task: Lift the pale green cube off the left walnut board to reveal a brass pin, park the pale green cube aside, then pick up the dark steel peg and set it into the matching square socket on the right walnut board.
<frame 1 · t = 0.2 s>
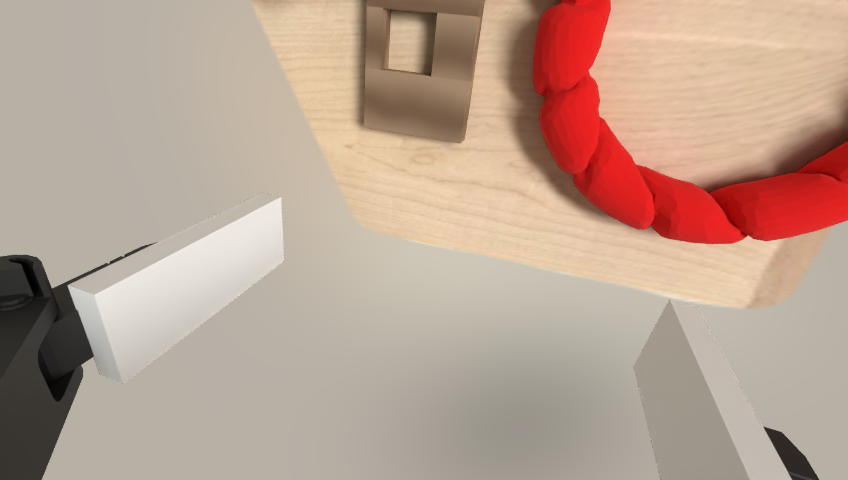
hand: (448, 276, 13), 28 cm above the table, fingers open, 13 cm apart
square hole block: (422, 67, 37), on the table
decorative ring: (736, 50, 30), on the table
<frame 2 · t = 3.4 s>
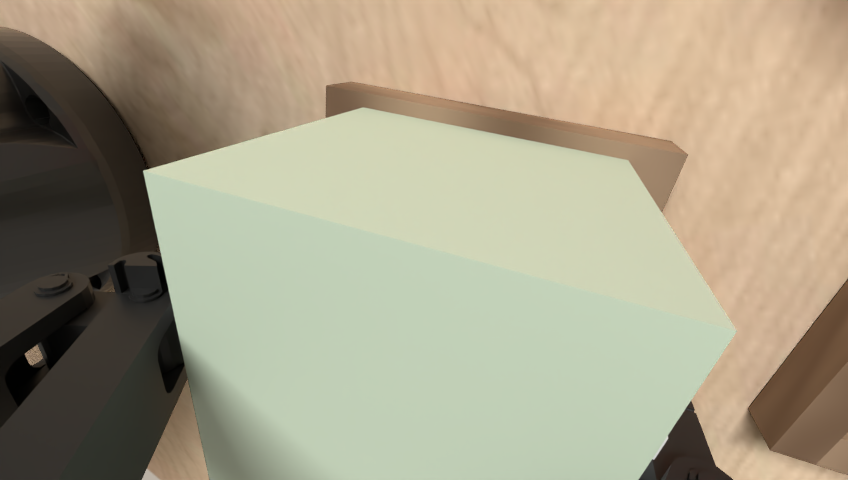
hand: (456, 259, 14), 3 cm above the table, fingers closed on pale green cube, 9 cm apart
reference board: (472, 228, 17), on the table
pale green cube: (462, 248, 15), point 2 cm above the table, touching gripper, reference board
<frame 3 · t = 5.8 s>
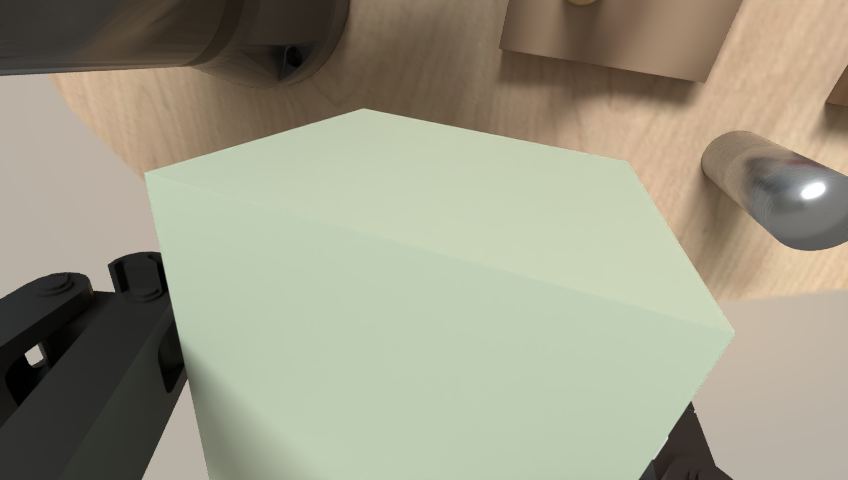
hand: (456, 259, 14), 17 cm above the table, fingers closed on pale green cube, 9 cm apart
peg: (732, 157, 25), on the table
pale green cube: (462, 249, 15), point 16 cm above the table, touching gripper
when the fingers open (2 cm above the table, at t = 8.0 s): pale green cube stays where it is, on the table.
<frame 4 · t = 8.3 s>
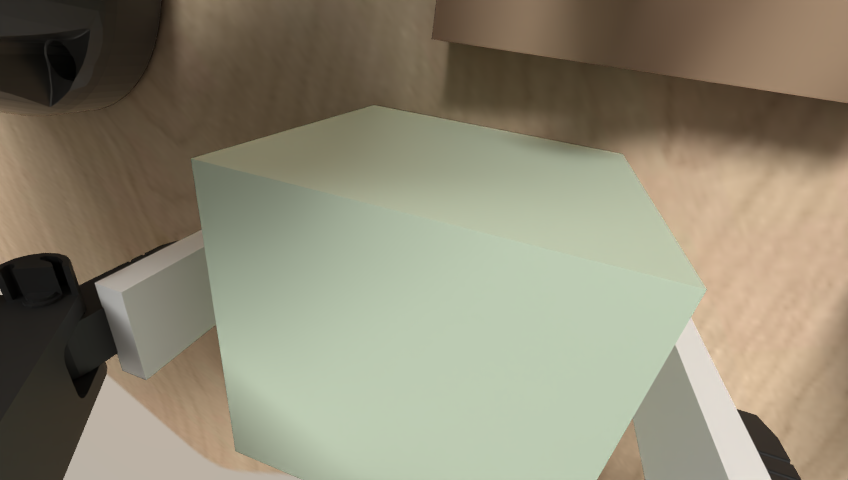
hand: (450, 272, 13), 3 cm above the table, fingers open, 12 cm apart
pale green cube: (467, 238, 16), on the table
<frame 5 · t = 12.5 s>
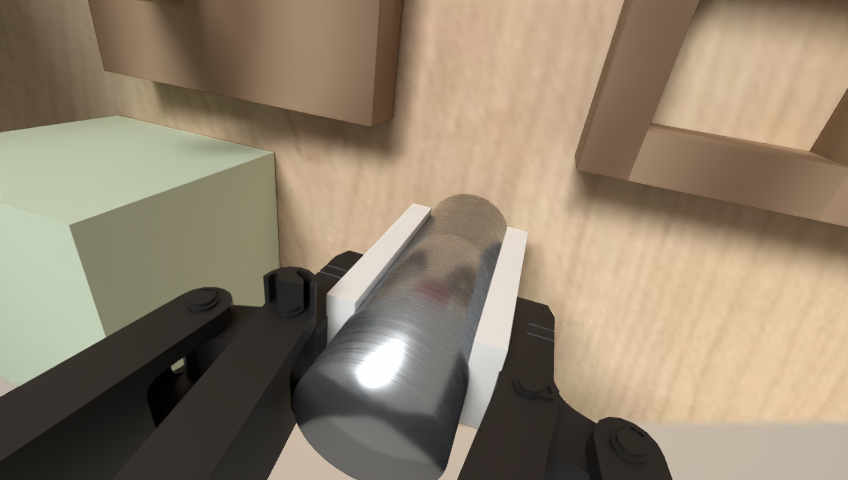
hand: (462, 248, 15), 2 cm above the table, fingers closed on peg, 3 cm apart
peg: (466, 232, 16), on the table, touching gripper
pale green cube: (204, 217, 21), on the table
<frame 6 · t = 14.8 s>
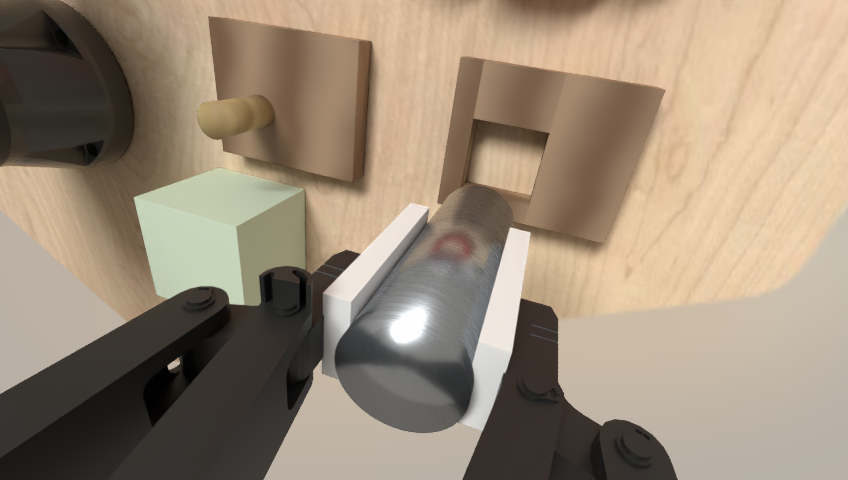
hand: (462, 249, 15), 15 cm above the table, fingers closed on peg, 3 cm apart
square hole block: (537, 147, 27), on the table
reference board: (298, 99, 31), on the table
peg: (475, 221, 18), point 12 cm above the table, touching gripper
pale green cube: (264, 222, 38), on the table
when the fingers open (3 cm above the table, at t = 17.1 s): peg stays where it is, resting in square hole block.
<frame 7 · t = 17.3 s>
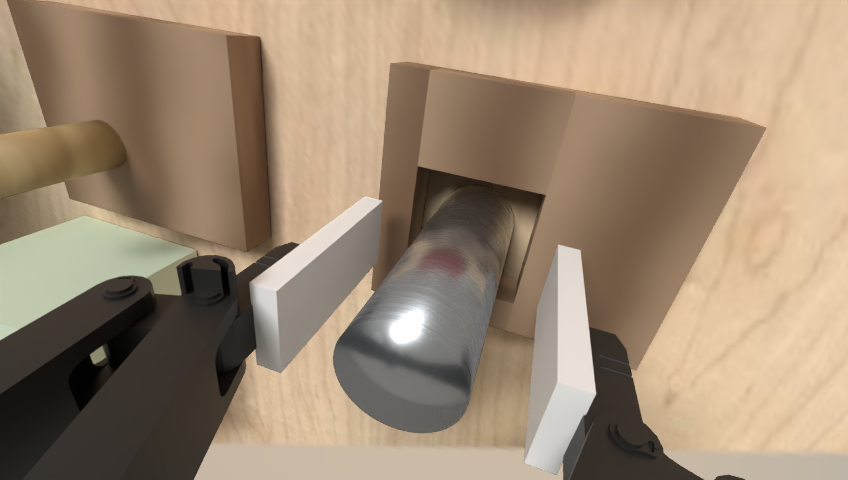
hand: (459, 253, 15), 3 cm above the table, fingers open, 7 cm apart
square hole block: (526, 210, 17), on the table
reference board: (168, 125, 21), on the table
peg: (475, 221, 18), resting in square hole block
pale green cube: (152, 289, 27), on the table
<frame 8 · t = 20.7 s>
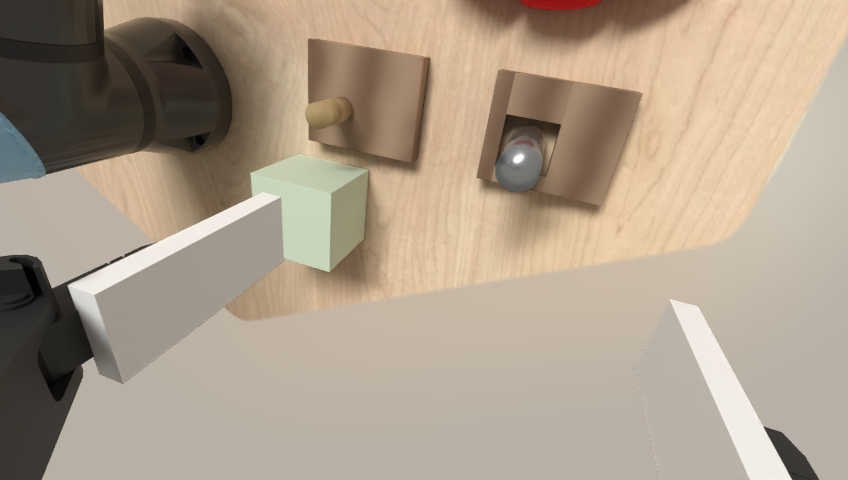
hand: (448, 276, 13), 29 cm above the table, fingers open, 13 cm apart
square hole block: (551, 135, 37), on the table
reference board: (369, 100, 41), on the table
peg: (527, 142, 38), resting in square hole block
pale green cube: (332, 197, 48), on the table
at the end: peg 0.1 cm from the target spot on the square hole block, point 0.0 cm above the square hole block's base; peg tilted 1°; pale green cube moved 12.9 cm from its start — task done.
